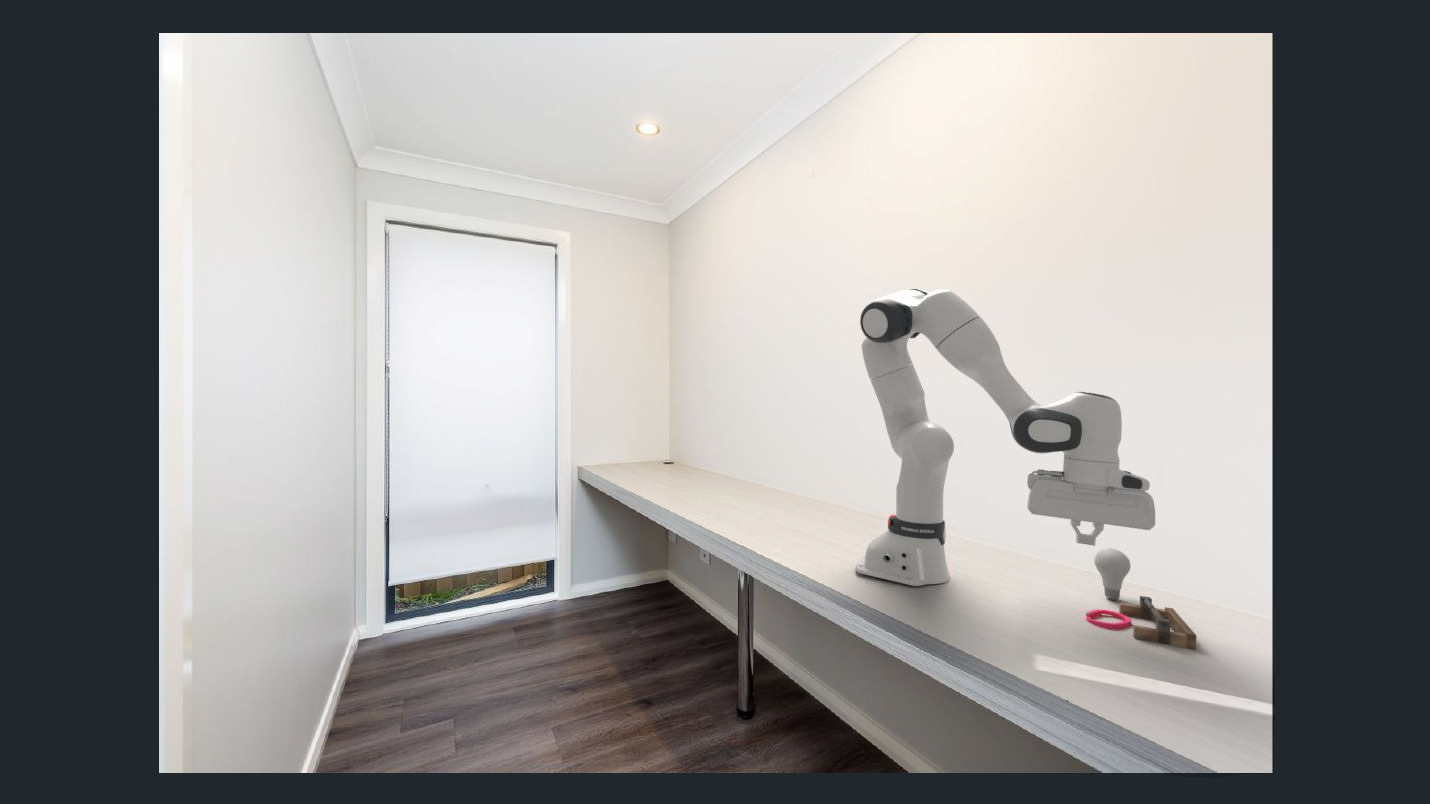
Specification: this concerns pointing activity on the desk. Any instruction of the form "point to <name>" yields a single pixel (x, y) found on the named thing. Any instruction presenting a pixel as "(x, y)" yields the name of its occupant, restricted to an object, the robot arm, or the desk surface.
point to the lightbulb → (1112, 570)
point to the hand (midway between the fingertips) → (1085, 543)
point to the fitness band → (1115, 626)
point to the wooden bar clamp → (1160, 624)
